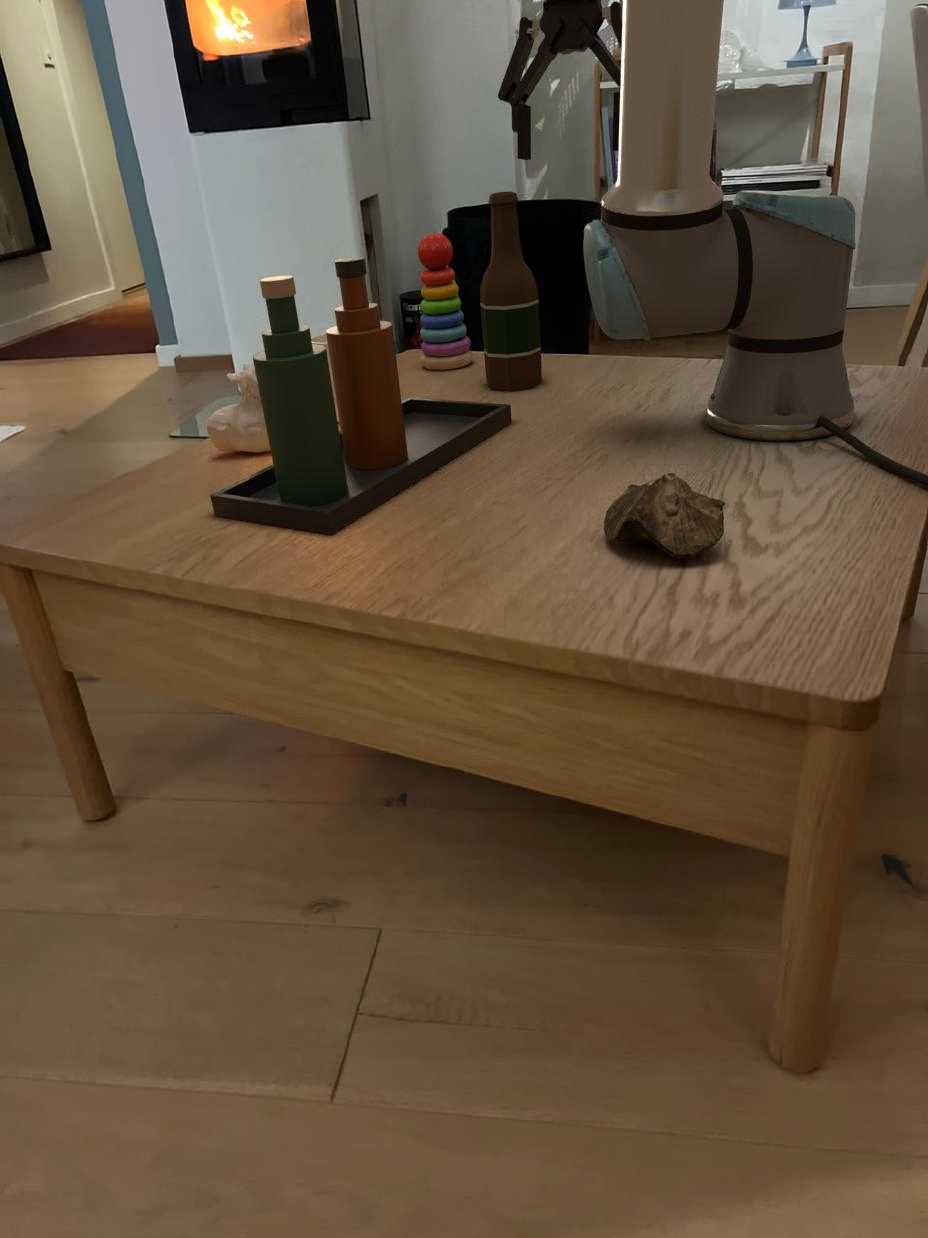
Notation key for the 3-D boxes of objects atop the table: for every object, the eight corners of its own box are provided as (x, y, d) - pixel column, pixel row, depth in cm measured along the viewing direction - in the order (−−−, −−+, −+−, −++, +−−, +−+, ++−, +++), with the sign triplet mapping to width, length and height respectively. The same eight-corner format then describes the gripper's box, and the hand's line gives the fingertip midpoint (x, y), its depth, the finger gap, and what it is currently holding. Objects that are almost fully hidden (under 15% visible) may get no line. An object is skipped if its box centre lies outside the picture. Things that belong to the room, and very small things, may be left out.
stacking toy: (419, 362, 142) (405, 232, 133) (470, 356, 142) (459, 227, 133) (423, 373, 135) (408, 238, 126) (476, 367, 135) (465, 232, 126)
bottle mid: (419, 459, 97) (396, 256, 88) (362, 474, 94) (332, 266, 85) (390, 445, 103) (365, 252, 93) (335, 459, 100) (304, 262, 90)
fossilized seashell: (752, 518, 71) (664, 504, 80) (714, 458, 68) (627, 450, 76) (696, 590, 70) (613, 568, 78) (655, 532, 66) (572, 515, 75)
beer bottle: (538, 390, 120) (529, 192, 109) (481, 392, 122) (466, 197, 111) (545, 375, 127) (537, 187, 116) (491, 377, 129) (478, 192, 117)
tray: (410, 414, 116) (408, 397, 114) (511, 422, 109) (510, 404, 108) (214, 516, 89) (209, 495, 88) (331, 535, 82) (327, 512, 81)
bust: (220, 479, 106) (225, 415, 97) (194, 430, 108) (196, 363, 99) (312, 454, 112) (325, 391, 102) (286, 408, 114) (296, 342, 104)
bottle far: (359, 494, 89) (326, 275, 80) (295, 512, 86) (253, 287, 77) (330, 477, 95) (297, 269, 85) (270, 494, 92) (227, 281, 82)
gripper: (678, -45, 111) (669, 149, 119) (497, -11, 122) (499, 164, 130) (660, -62, 105) (651, 143, 113) (470, -25, 116) (475, 160, 124)
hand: (570, 155), depth 121 cm, fingers open, 13 cm apart
